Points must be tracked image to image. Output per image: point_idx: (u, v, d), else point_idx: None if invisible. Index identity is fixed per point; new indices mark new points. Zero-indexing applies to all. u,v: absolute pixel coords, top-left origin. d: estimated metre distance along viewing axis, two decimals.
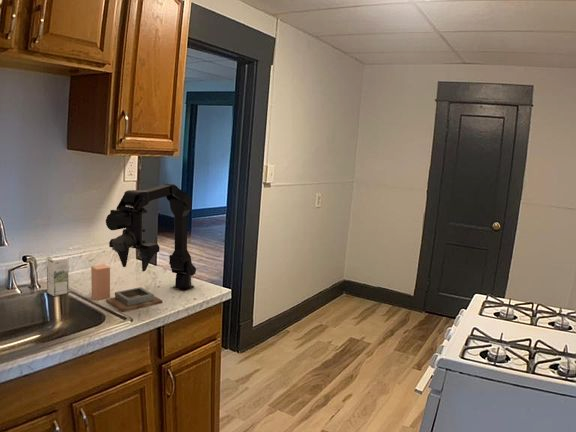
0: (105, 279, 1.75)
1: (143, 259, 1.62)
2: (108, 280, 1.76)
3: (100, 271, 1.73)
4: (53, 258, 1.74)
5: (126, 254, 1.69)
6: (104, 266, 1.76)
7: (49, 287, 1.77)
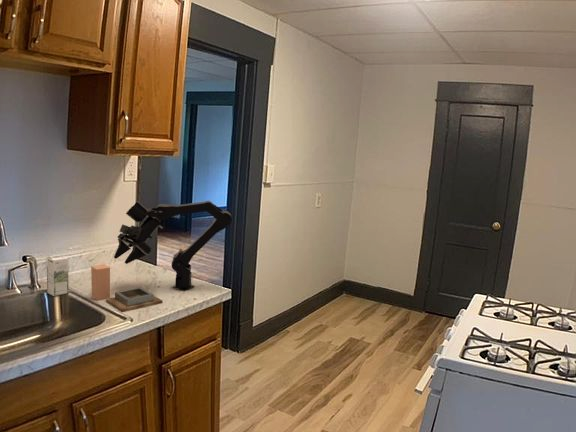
0: (105, 279, 1.75)
1: (132, 251, 1.77)
2: (108, 280, 1.76)
3: (100, 271, 1.73)
4: (53, 258, 1.74)
5: (124, 251, 1.86)
6: (104, 266, 1.76)
7: (49, 287, 1.77)
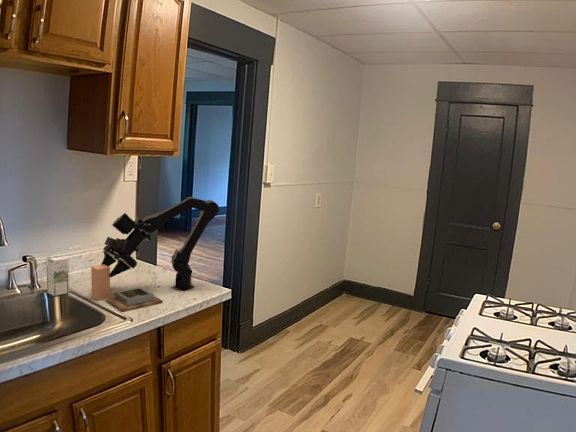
0: (105, 279, 1.75)
1: (117, 265, 1.74)
2: (108, 280, 1.76)
3: (100, 271, 1.73)
4: (53, 258, 1.74)
5: (109, 263, 1.83)
6: (104, 266, 1.76)
7: (49, 287, 1.77)
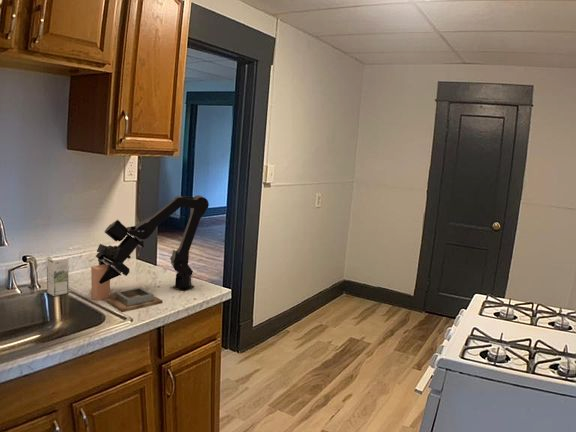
0: None
1: (107, 271, 1.73)
2: (108, 280, 1.76)
3: (100, 271, 1.73)
4: (53, 258, 1.74)
5: None
6: (104, 266, 1.76)
7: (49, 287, 1.77)
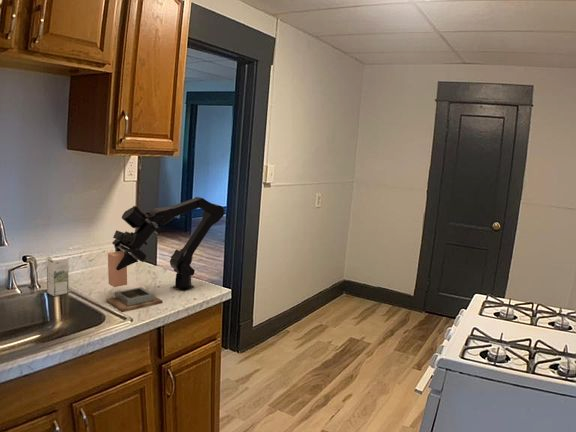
0: None
1: (124, 258, 1.71)
2: (125, 267, 1.73)
3: (116, 258, 1.70)
4: (53, 258, 1.74)
5: None
6: (121, 253, 1.74)
7: (49, 287, 1.77)
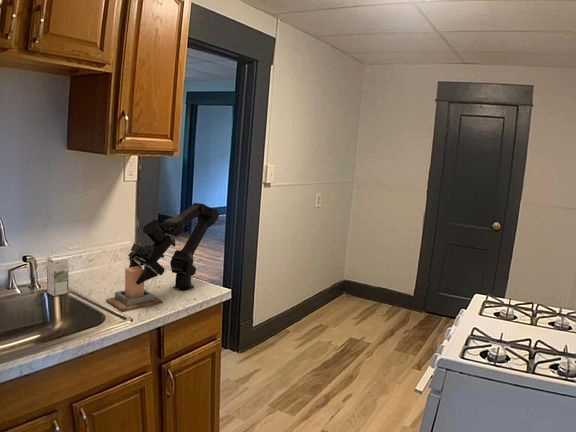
0: None
1: (144, 272, 1.69)
2: None
3: (134, 273, 1.69)
4: (53, 258, 1.74)
5: None
6: (138, 268, 1.73)
7: (49, 287, 1.77)
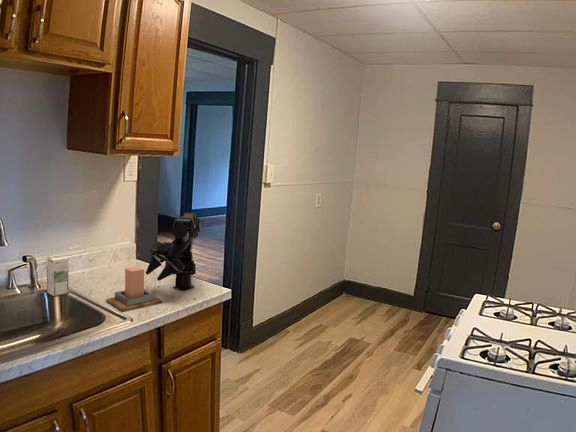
0: (139, 281, 1.71)
1: (165, 268, 1.75)
2: (142, 282, 1.72)
3: (134, 273, 1.69)
4: (53, 258, 1.74)
5: (155, 266, 1.84)
6: (138, 268, 1.73)
7: (49, 287, 1.77)
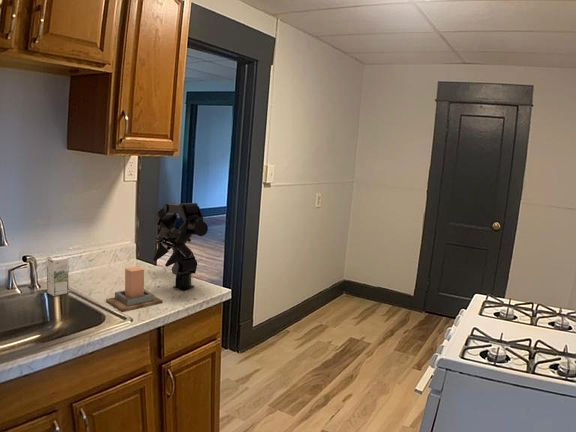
0: (139, 281, 1.71)
1: (173, 254, 1.76)
2: (142, 282, 1.72)
3: (134, 273, 1.69)
4: (53, 258, 1.74)
5: (162, 253, 1.85)
6: (138, 268, 1.73)
7: (49, 287, 1.77)
